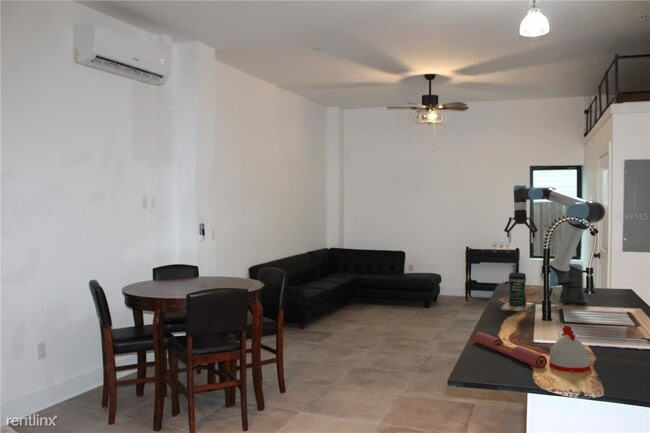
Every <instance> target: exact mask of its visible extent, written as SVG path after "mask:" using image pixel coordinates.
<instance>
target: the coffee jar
mask: <svg viewBox="0 0 650 433" xmlns="http://www.w3.org/2000/svg"><path fill="white" fill-rule="evenodd" d="M508 274H509V275H508V282H509V296H508V302H509V304H510V305H519V306H523V305H526V303H527V296H526V295H527V294H526V282H527V276H526V273H525V272H510V273H508Z"/></svg>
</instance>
